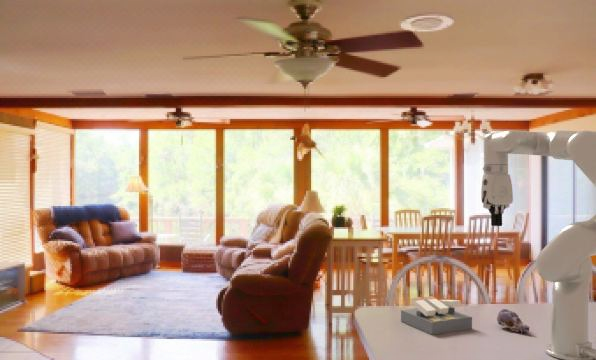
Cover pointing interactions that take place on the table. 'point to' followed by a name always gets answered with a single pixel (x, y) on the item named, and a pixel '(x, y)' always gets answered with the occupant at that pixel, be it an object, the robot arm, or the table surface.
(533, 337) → the table surface
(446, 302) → the rocker
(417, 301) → the block
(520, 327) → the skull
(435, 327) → the switch unit
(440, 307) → the rocker
